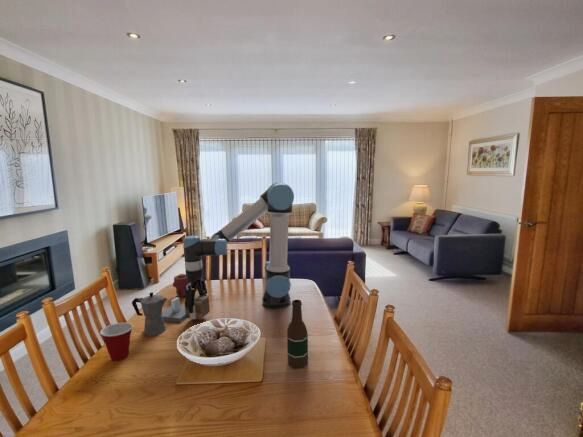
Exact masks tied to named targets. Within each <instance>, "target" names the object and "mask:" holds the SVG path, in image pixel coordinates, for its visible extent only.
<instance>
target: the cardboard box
mask: <svg viewBox="0 0 583 437" xmlns="http://www.w3.org/2000/svg"><path fill="white" fill-rule="evenodd" d="M184 304H185V301H184ZM191 304H192V303H191ZM194 305H195V312H196V319H195V320H202V319H203V318H205V316H207V315H208V314H209V313H210V312H211V310H210V309H211V308H210V296H209V295H207V296H202V295H199V294H195V299H194ZM185 313H186V319H190V313H189V307H185Z"/></svg>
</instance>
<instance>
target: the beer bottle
mask: <svg viewBox="0 0 583 437" xmlns="http://www.w3.org/2000/svg"><path fill="white" fill-rule="evenodd" d="M291 305H292V308H291V309H292V312H291V321H290V322H289V324H288V327H287V330H286V337H287V338H286V339H287V341H286V342H287V343H286V344H287V361H288V366H289V367H292V369H303V368H305V366H307V365H308V361H309V348H308V347H309V339H308V338H309V336H308V329H307V326H306V324H305V322H304V321H303V313H302V305H303V303H302V300H300V299H294V300H291Z"/></svg>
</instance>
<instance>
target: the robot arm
mask: <svg viewBox="0 0 583 437" xmlns="http://www.w3.org/2000/svg"><path fill="white" fill-rule="evenodd" d="M294 199H295V193H294V191H293V189H292V187H291V186H290V185H288V184H286V183H283V182H275V183H274V182H273V184H271V185H270V186H269V187H268V188H267V189H266V190H265V191H264V192H263V193H261V195H260V196H259V199H257V201H255V202H253V203H252V204H251V205H249V206H248V207H247V208H246V209H244V211H243V212H241V213H240V214H239V215H237V216H235V218H234V219H232V220H231V221H230V222H228V223H227V224H226V225H224V226H223V227H222V228H221V229H219V230H218V231H217V232H214V234H213V235H211V237H210V238H209V239H201V237H200V236H199V235H188V236H185V237H184V238H183V243H182V244H183V246H182V248H183V255H184V264H185V265H184V266H185V274H186V277H187V278H188V279H189V283H188V285H185V296H184V298H185V299H184V302H185V303H184V306H185V307H189V313H190V318H189V319H191V320H197V319H196V312H195V305H194V299H195V295H196V292H198V295H202V296H208V289H207V283H206V277H205V275H204V271H203V259H202V258H203V257H209V256H210V257H211V256H224V255H226V254H227V253H228V244H229V242H231V241H232V240H233V239H234V238H236V237H237V236H238V235H239V234H240V233H242V232H243V231H245V230H246V229H247V228H248V227H250V226H251V225H252V224H253V223H255V222H256V221H257V220H259V219H260V218H261V217H263V216H264V215H265V214H266V213H268V214H269V215H270V218H269V219H270V221H269V226H270V227H269V259H268V261H266V262H264V287H265V289H264V292H263V296H262V301H261V302H262V305H263V306H264V307H266V308H270V309H281V308H285V307H287V306H288V305H290V304H291V296H290V290H291V286H292V284H291V281H290V280H291V279H290V278H291V275H290V274H291V268H290V266H289V264H288V248H289V247H288V242H289V221H290V220H289V216H290V215H291V214H292V213H293V203H294ZM191 303H192V304H191Z"/></svg>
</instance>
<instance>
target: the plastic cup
mask: <svg viewBox="0 0 583 437" xmlns="http://www.w3.org/2000/svg"><path fill="white" fill-rule="evenodd" d="M133 328H134V325H133V323H131V322H118V323H112V324H110V325H107V326H105V327H104V328H102V329H101V330H100V331H99V332H100V335H101V337H102V339H103V341H104V344H105V347H106V349H107V350H106V351H107V352H108V355H109V358H110V360H111V361H112V362H120V361H123V360H124V359H126V358H127V357H129V356H128V355H129V351H130V345H131V342H130V341H131V334H132V330H133Z"/></svg>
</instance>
